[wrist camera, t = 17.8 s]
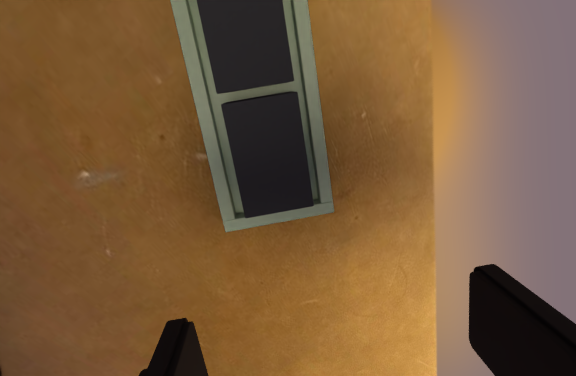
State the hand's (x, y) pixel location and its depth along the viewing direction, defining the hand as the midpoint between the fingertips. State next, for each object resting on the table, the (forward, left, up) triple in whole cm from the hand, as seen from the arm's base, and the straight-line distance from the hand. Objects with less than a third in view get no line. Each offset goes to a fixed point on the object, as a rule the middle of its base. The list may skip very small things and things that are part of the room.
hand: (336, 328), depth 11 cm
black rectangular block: (-8, -9, -17) cm, 21 cm away
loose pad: (-2, -3, -17) cm, 17 cm away
